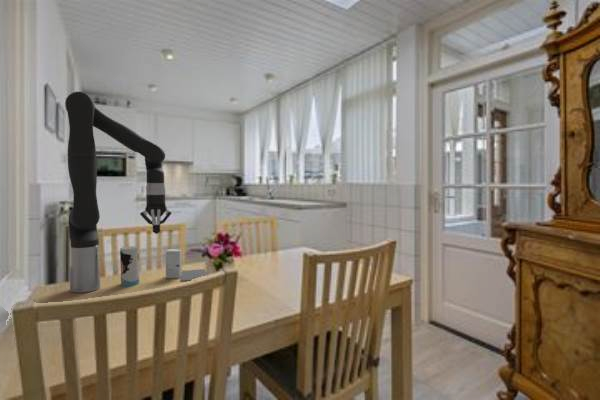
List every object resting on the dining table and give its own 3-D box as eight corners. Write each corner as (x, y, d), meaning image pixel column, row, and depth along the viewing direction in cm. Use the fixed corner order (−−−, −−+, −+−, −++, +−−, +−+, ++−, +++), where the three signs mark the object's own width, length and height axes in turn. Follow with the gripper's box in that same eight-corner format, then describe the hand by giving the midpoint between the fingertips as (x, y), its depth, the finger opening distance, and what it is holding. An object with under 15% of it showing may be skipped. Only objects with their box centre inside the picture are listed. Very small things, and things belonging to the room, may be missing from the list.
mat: (181, 281, 140) (181, 280, 140) (182, 271, 156) (182, 270, 156) (210, 279, 144) (210, 278, 144) (208, 269, 159) (208, 268, 159)
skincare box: (165, 278, 144) (164, 251, 144) (167, 275, 149) (167, 249, 148) (180, 278, 145) (179, 250, 145) (182, 275, 150) (181, 248, 149)
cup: (134, 280, 142) (134, 245, 141) (142, 283, 138) (141, 247, 137) (118, 283, 137) (117, 248, 136) (125, 287, 132) (124, 250, 132)
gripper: (137, 194, 137) (138, 235, 138) (171, 193, 141) (172, 234, 142) (140, 193, 144) (141, 232, 145) (172, 193, 148) (173, 231, 149)
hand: (156, 233), depth 144 cm, fingers closed
